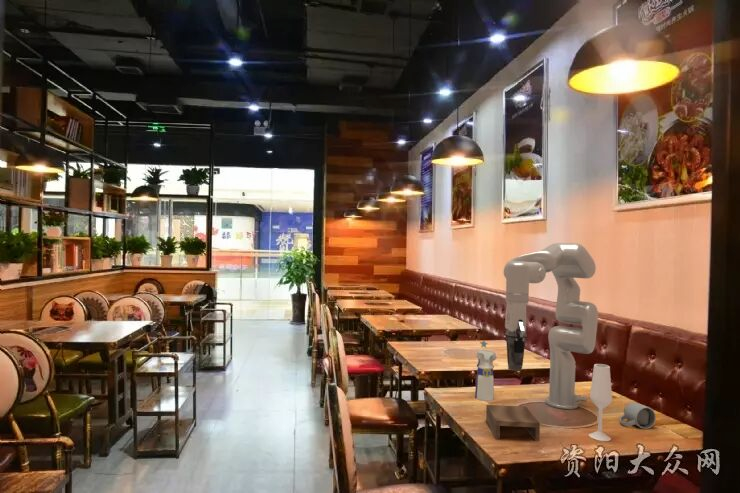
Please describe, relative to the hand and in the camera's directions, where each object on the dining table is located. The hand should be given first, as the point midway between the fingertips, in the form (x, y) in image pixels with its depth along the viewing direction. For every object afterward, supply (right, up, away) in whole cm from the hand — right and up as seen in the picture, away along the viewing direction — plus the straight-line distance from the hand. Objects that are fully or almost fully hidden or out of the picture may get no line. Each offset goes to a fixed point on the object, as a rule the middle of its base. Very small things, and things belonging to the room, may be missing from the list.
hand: (515, 349), depth 164 cm
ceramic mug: (+46, -30, +9) cm, 55 cm away
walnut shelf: (-1, -28, 0) cm, 28 cm away
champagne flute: (+27, -29, -3) cm, 40 cm away
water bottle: (-2, -28, +35) cm, 45 cm away
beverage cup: (0, -7, 0) cm, 7 cm away
